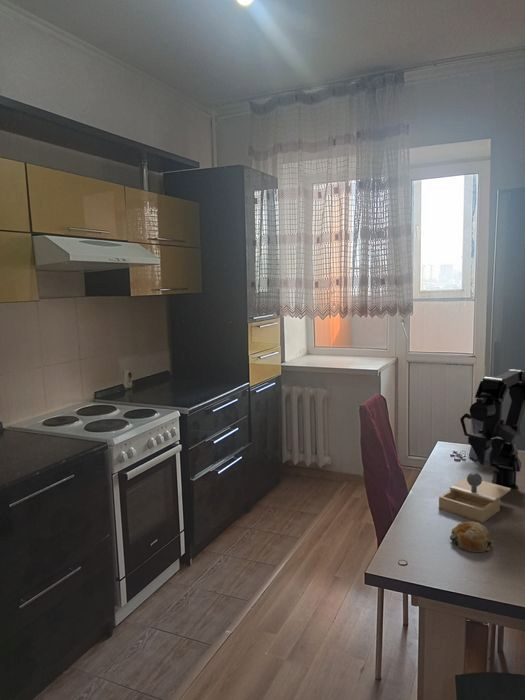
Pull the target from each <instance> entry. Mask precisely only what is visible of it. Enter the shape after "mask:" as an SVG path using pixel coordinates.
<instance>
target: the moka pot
mask: <svg viewBox="0 0 525 700" xmlns="http://www.w3.org/2000/svg"><path fill="white" fill-rule="evenodd" d="M465 419H468V420H471V429H472V432H471V433H472V434H476V433H477V434H480V433H479V430H481V429H482V421H480V420H476V419H474V418H473V417H472V416H471V414H470V413H467V412H466V413H464V414H463V415H462V417H460V424H461V427H462V430H463V435H464V436H465V437H469V436H470V435H472V434H470V433H468V431H467V428H466V424H465ZM481 435H483V434H481ZM490 446H491V445H490ZM491 450H492V447H490V448H489V449H488V450H487V453H486V458H485V462H490V459H489V454H490V451H491ZM468 457H469V458H471V459H473V460H475V461H479V460H478V458H477V455H476V453H475V451H474V449H473V447H472V446H471V445H470V449H469V454H468Z"/></svg>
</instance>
